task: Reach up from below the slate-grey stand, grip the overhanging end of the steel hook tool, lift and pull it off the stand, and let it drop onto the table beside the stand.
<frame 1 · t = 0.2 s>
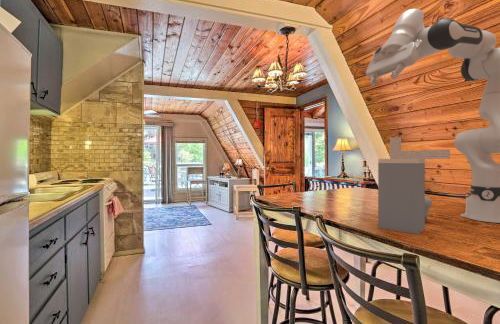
hand: (382, 81, 98), 54 cm above the table, tool tilted 30°, fingers open, 8 cm apart
stand: (401, 228, 102), on the table
lightbulb: (423, 222, 112), on the table
hook tool: (418, 158, 98), point 26 cm above the table, touching stand
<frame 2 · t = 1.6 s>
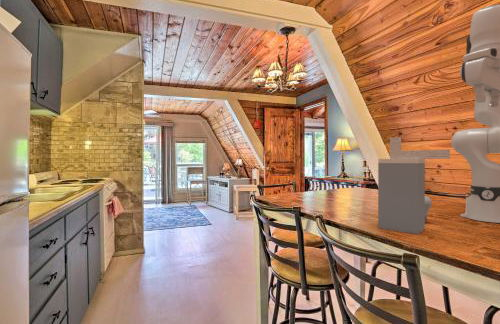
hand: (487, 104, 83), 42 cm above the table, tool pointing down, fingers open, 8 cm apart
nothing on the table moved.
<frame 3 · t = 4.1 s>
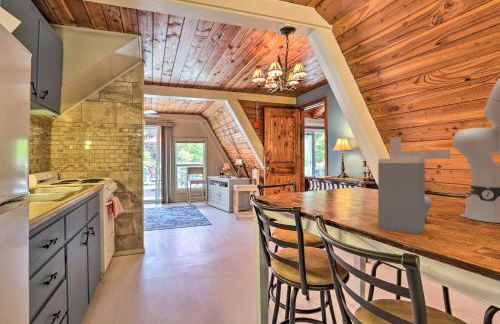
nothing on the table moved.
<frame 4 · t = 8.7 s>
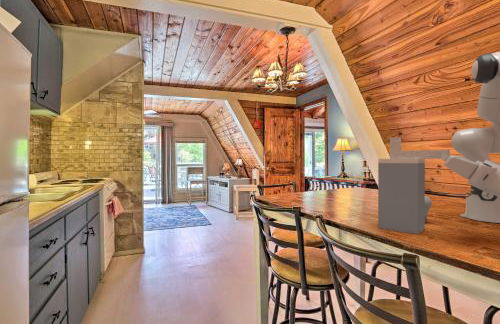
hand: (437, 153, 94), 28 cm above the table, tool pointing upward, fingers closed on hook tool, 3 cm apart
hook tool: (418, 158, 98), point 26 cm above the table, touching gripper, stand
everything else where it was.
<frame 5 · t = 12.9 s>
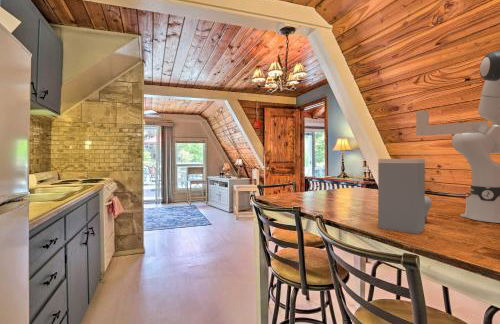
hand: (473, 125, 82), 36 cm above the table, tool pointing upward, fingers closed on hook tool, 3 cm apart
hook tool: (449, 133, 86), point 34 cm above the table, touching gripper
everything else where it was.
when the fingers open (19 cm above the table, at t = 17.6 s): hook tool drops 18 cm, on the table.
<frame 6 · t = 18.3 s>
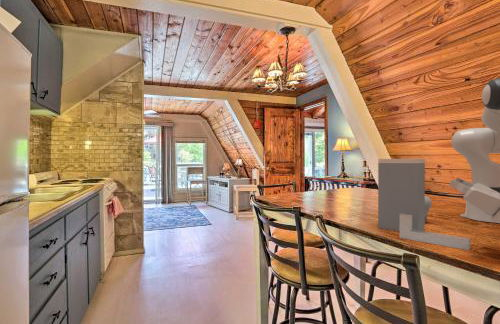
hand: (453, 180, 81), 19 cm above the table, tool pointing upward, fingers open, 8 cm apart
hook tool: (432, 243, 85), on the table
everything else where it was.
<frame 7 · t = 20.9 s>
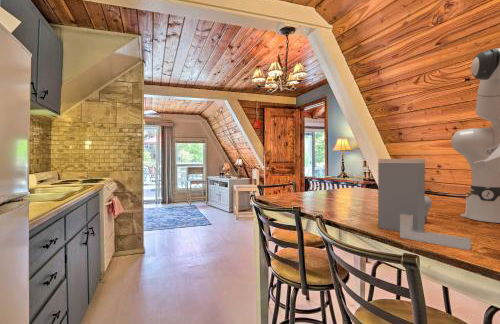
hand: (480, 158, 83), 26 cm above the table, tool tilted 75°, fingers open, 8 cm apart
nothing on the table moved.
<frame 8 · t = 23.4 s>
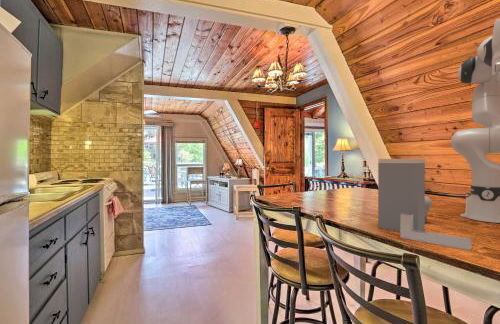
nothing on the table moved.
at the end: hook tool inside the target area (3.8 cm from its centre), on the table; hook tool touching table; the gripper is holding nothing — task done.
